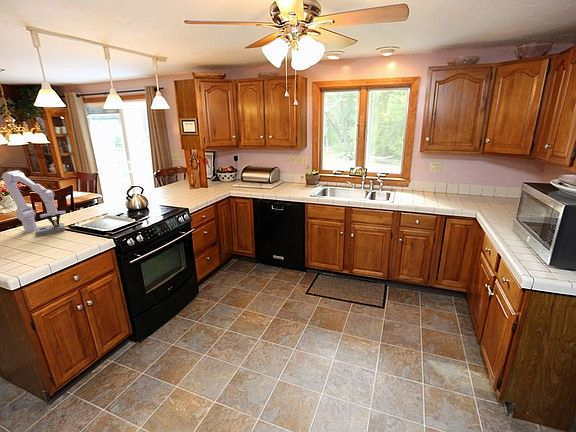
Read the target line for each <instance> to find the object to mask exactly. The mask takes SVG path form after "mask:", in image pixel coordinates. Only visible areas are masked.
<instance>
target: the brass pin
mask: <svg viewBox="0 0 576 432" xmlns="http://www.w3.org/2000/svg"><path fill="white" fill-rule="evenodd" d="M52 220H53V223H54V226H55V227H59V225H58V221H57V218H56V219H52Z"/></svg>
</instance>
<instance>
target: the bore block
mask: <svg viewBox="0 0 576 432" xmlns="http://www.w3.org/2000/svg"><path fill="white" fill-rule="evenodd" d="M59 224H60V225H59V227H55V226H53V225H52V224H49V225H45V226H44V225H43V226H37V227H38V228H36V231H34V233H35V236H36V237H41V236H42V237H43V236H46V235H51V234H56V233H61V232H65V223H64V222H61V223H60V222H59Z"/></svg>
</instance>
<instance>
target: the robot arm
mask: <svg viewBox="0 0 576 432" xmlns="http://www.w3.org/2000/svg"><path fill="white" fill-rule="evenodd" d="M1 179H2V181H3V182H4V185H5V187H6V189H7V191H8V192H9V195H10V196H11V199H12V200H13V202H14V204H15V205H16V207H17V208H16V209H15V213H16V218H17V219H18V220H19V221H20V222H21V223H22V226H23V229H24V230H23V233H24V234H26V233H30V232H31V233H32V232H36V228H38V227H39V226H37V223H36V222H37V221H36V220H35V218H36V214H37V213H36V211H35V210H34V209H33V208H32V206H31V205H28V204H27V202H26V200H25V199H24V197H23V195H22V193H21V191H20V189H19V187H18V186H17V184H19V183H18V182H21V183H22V184H24V185H26V186H27V187H30V189H31V191H32V192H34V193H35V194H37V195H39V196H40V199H41V200H42V202H43V203H44V205H45V206H44V207H45V209H46V213H42V214H39V216H40V218H41V219H43V218H46V219H47V220H48V221H49V222H50V223H51V225H53V226H54V223H53V220H54V219H53V216H55V218H56V219H57V221H58V225H60V218H61V215H65V214H66V210H58V208H57V206H56V202H55V196H56V195H55V192H54V191H53V190H52V189H49V188H48V189H47V188H45V187H44V186H42V185H41V184H40V183H35V182H33V180H31V179H30V178H28V177H27V176H26V175H25V173H24V172H22V171H21V170H17V169H16V170H12V171H6V172H3V173H2V175H1Z"/></svg>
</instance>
